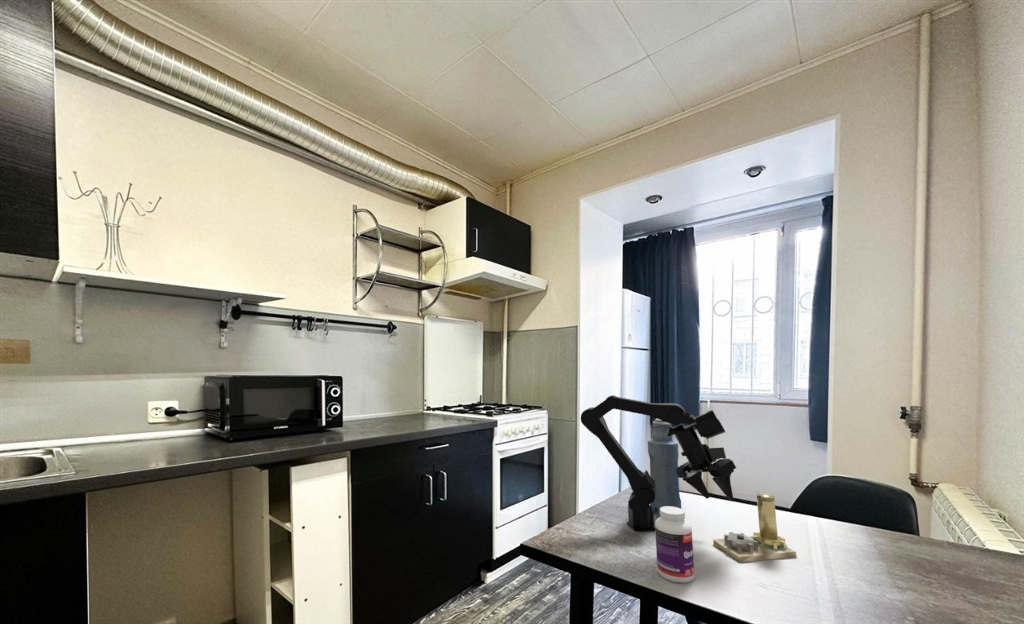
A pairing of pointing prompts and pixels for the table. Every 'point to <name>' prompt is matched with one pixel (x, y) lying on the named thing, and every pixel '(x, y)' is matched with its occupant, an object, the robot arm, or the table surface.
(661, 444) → the bottle
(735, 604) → the table surface
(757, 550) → the gear board
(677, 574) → the pill bottle
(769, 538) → the gear
